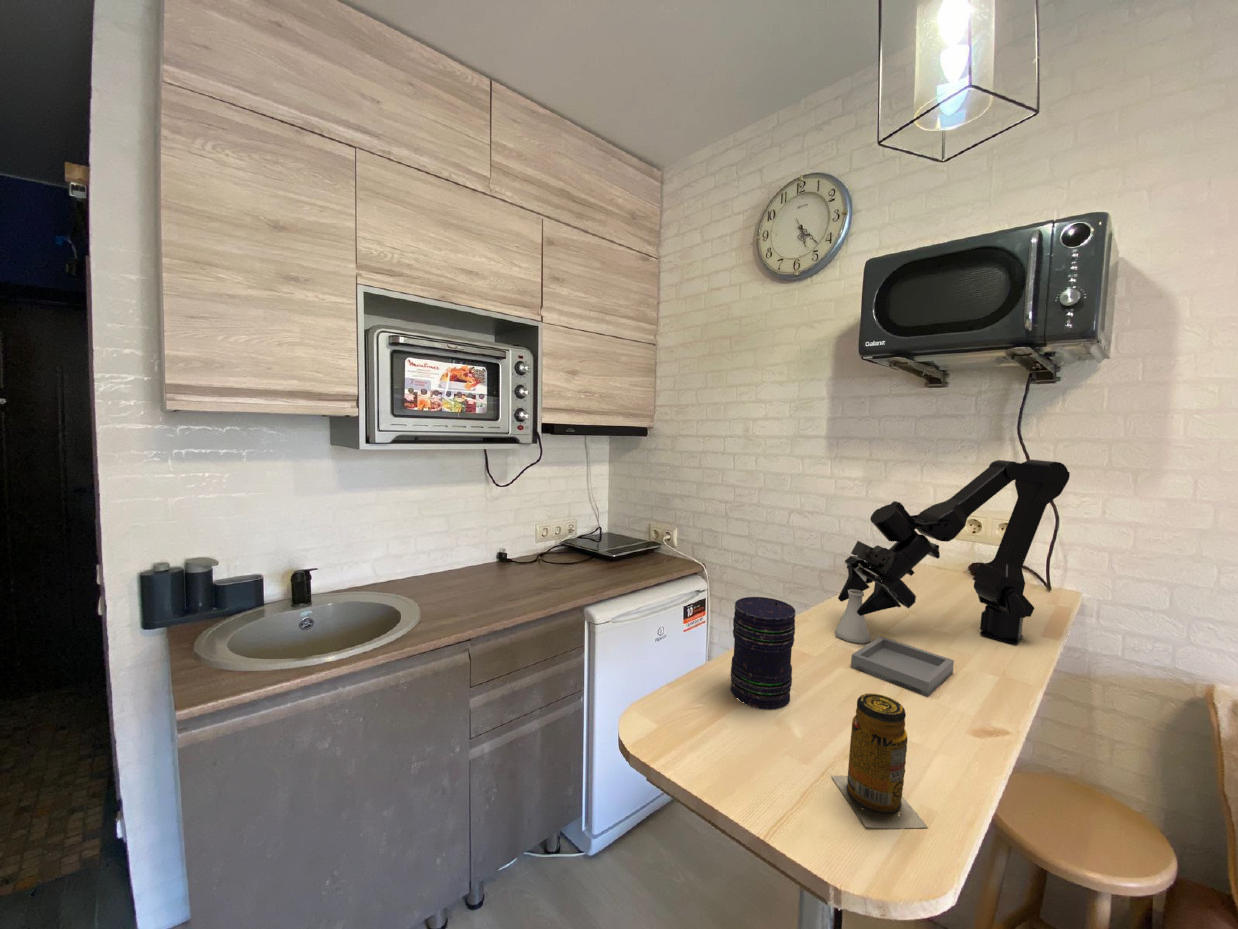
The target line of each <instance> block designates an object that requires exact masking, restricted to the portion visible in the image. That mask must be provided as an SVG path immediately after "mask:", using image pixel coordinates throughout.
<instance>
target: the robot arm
mask: <svg viewBox="0 0 1238 929" xmlns="http://www.w3.org/2000/svg"><path fill="white" fill-rule="evenodd" d="M1070 476H1071V474H1070V471H1069V469H1068V467H1067V466H1066V465H1065V464H1064V463H1062V462H1058V461H1050V460H1040V459H1027V460H1025V461H1022V462H1016V461H1011V460H1004V459H1003V460H1002V459H997V460H994V461H991V463H990V464H989V466H988V467H987V468H985V470H983V472H981V473H980V474H979V475H978V476H976V477H974V478H973V479H972V480H971V481H970V482H969V483H968V484H966V485H965V486H964V487H962V488H961V489H960V490H959V491H958V492H956V493H955V494H953V495H952V496H951V497H950V498H949V499H947V500H944V501H941V502H938V503H935V504H932V505H930V506H929V507H928V508H925V509H924V510H922V511H920V512H919V513H918V514H913V515H911V514H910V513H909V512H908V511H907V510H906V509H905V507H904V505H903V503H901V502H900V501H896V500H895V501H894V500H893V501H892V502H891V503H890V504H886V505H884V506H881V507H880V508H877V509H875V511H873V513H872V514H871V516H870V522H871V523H872V525H874V526H875V528H876V529H877V530H878V531H879V532H880V533H881V534H882V535H883V536H884V538H885V539H886V540H887V541H889V542H892V543H893V542H895V543H894V544H893V545H892V546H890V547H889V549H888V548H886V547H883V546H881V545H875V546H874V547H872V546H870V545H868V544H866V543H864V542H862V541H859V540H857V541H856V543H855V545H854V547H853V548H852V550H851V552H850V554H851V555H850V556H849V557H847V558H846V559H845V560H844V563H845V564H846V569H847V575H848V577H847V579H846V581H845V583H844V585H843V588H842V589H841V591H840V593H839V595H838V597H837V599H838V600H839V601H840V602H844V601H846V600H847V601H848V600H849V594H848V590H850V589H854V590H859V591H863V592H864V591H866V590H867V589H870V588H871V587H870V585H869V584H871V583H873V582H874V588H873V592H872V593H871V594H870V595H869V596H868V597H867V598H866V600H864V601H863V602H862V605H861V606H860V608H859V609H858V610H857V613H858V614H859V615H860V616H862V615H864V616H865V615H868V614H872V613H876V612H880V611H884V610H887V609H893V608H901V607H902V606H903V607H905V608H906V609H910V608H911V607H912V606H913V605H914V604H915V603H916V600H917V599H916V598H917V595H916V594H915V593H914V592H913V591H912V589H911V588H909V587H908V586H907V584H906V583H905V582H904V581H903V580H902V579H903V578H904V577H905V576H906V575H908V576H910V577H912V576H913V575H914V574H915V571H914V570H913V569H914V568H915V567H916V566H917V565H918V564H919V563H921V561H922V560H923V559H925V558H926V557H927V556H930V557H932V558H935V559H939V558H940V556H941V555H940V545H939V544H936V543H933V542H931V540H929V539H928V538H931V539H934V540H937V541H939V542H946V543H947V542H951V541H952V540H954V539H955V538H956V537H958V535H959V534H960V533H961V532H962V531H963V529H964V528H965V527H966V523H967V521H968V518H969V517H970V516H971V515H972V514H973V513H975V511H977V510H978V509H979V508H980V507H982V506H983V505H984V504H985V503H987V502H988V501H989V500H990V499H991V498H993V497H994V496H995V495H997V494H998V493H1000V492H1001V491H1002V490H1003V489H1004V488H1006V487H1007V486H1008V485H1009V484H1010V483H1011V482H1014V481H1015V482H1014V486H1015V490H1016V491H1015V492H1016V494H1017V499H1016V502H1015V504H1014V507H1013V510H1012V512H1011V515H1010V517H1009V521H1008V523H1007V525H1006V528H1005V531H1004V532H1003V536H1002V537H1001V541H1000V543H999V545H998V547H997V551H996V553H995V556H994V558H993V559H992V560H991V561H990V562H988V563H987V564H985V563H982V562H980V563H979V564H978V566H977V571H976V573H975V575H974V576H973V577H972V580H973V581H974V582H973V589H974V590H975V593H976V594H977V598H978V601H979V603H981V604H983V605H986V606H985V608H984V610H983V611H982V612H981V614H980V615H981V616H980V625H979V630H980V636H982V637H986V638H989V639H993V640H996V641H1000V642H1004V643H1006V644H1007V643H1008V644H1010V645H1012V646H1013V645H1014V646H1016V645H1018V644H1020V642H1021V641H1022V639H1024V635H1023V633H1022V632H1023V622H1024V619H1025V618H1027V617H1028V618H1031V617H1032V614H1033V612H1034V610H1035V606H1034V605H1033V604H1032V603H1031V602H1030V601H1029V599H1028V598H1027V597H1026V596H1025V595H1024V590H1025V587H1026V580H1025V577H1024V572H1023V565H1024V564H1025V561H1026V558H1027V557H1028V553H1029V550H1030V548H1031V546H1032V543H1033V540H1034V538H1035V536H1036V534H1037V530H1038V527H1039V526H1040V523H1041V520H1042V518H1043V515H1044V513H1045V510H1046V507H1047V506H1048V504H1050V503H1051V502H1052V501H1053V500H1055V499H1056V498H1057V497H1059V496H1060V495H1061V494H1062V492H1063V490H1064V489H1065V487H1066V486H1067V484H1068V483H1069V480H1070ZM919 533H920V534H919ZM927 537H928V538H927Z"/></svg>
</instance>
